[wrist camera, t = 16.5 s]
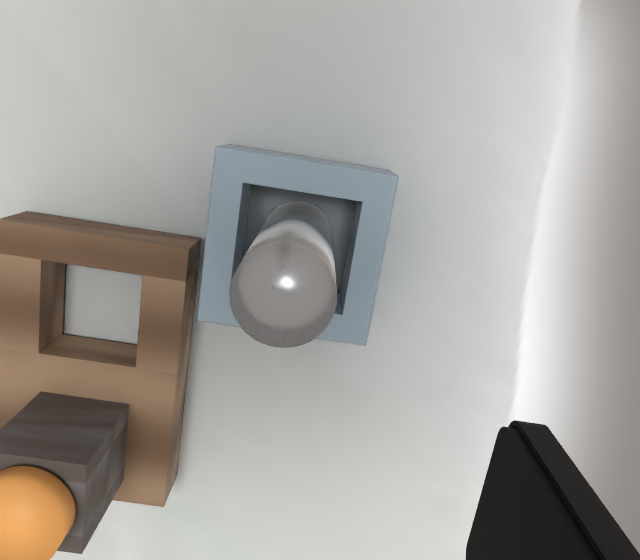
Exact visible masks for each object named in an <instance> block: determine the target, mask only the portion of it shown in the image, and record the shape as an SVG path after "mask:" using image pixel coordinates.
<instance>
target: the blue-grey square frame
mask: <svg viewBox="0 0 640 560" xmlns="http://www.w3.org/2000/svg"><path fill="white" fill-rule="evenodd" d="M397 180H398V176H397V175H396V174H394V173H393V172H391V171H390V170H385V169H379V168H373V167H367V166H361V165H354V164H348V163H342V162H336V161H330V160H323V159H317V158H311V157H305V156H299V155H292V154H286V153H280V152H274V151H268V150H261V149H255V148H249V147H243V146H236V145H230V144H228V145H223V146H217V147H216V148H215V157H214V167H213V176H212V186H211V195H210V205H209V214H208V223H207V233H206V242H205V252H204V261H203V271H202V280H201V290H200V299H199V309H198V318H197V320H198V321H204V322H211V323H218V324H224V325H231V326H238V327H241V326H240V325H239V324H238V322H237V321H236V319H235V317H234V315H233V312H232V309H231V305H230V297H229V295H230V285H231V281H232V278H233V276H234V274H235V272H236V270H237V268H238V266H239V265H240V263H241V261H242V256H243V248H244V240H245V232H246V224H247V216H248V208H249V200H250V192H251V184H254V185H261V186H267V187H273V188H280V189H286V190H292V191H298V192H305V193H311V194H317V195H324V196H330V197H336V198H343V199H349V200H355V201H356V207H355V213H354V218H353V224H352V230H351V236H350V241H349V247H348V253H347V258H346V264H345V270H344V276H343V281H342V287H341V293H337V305H336V309H335V313H334V315H333V318H332V320H331V322H330V323H329V325H328V326H327V327H326V329H325V330H324V331H323V332H322V333H321V334H320V335H319V336H317V337H316V338H318V339H324V340H331V341H338V342H344V343H351V344H358V345H365V346H366V342H367V337H368V332H369V327H370V321H371V316H372V311H373V306H374V300H375V295H376V290H377V285H378V280H379V274H380V269H381V264H382V259H383V253H384V248H385V243H386V238H387V233H388V227H389V222H390V217H391V212H392V207H393V201H394V196H395V191H396V186H397Z"/></svg>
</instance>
